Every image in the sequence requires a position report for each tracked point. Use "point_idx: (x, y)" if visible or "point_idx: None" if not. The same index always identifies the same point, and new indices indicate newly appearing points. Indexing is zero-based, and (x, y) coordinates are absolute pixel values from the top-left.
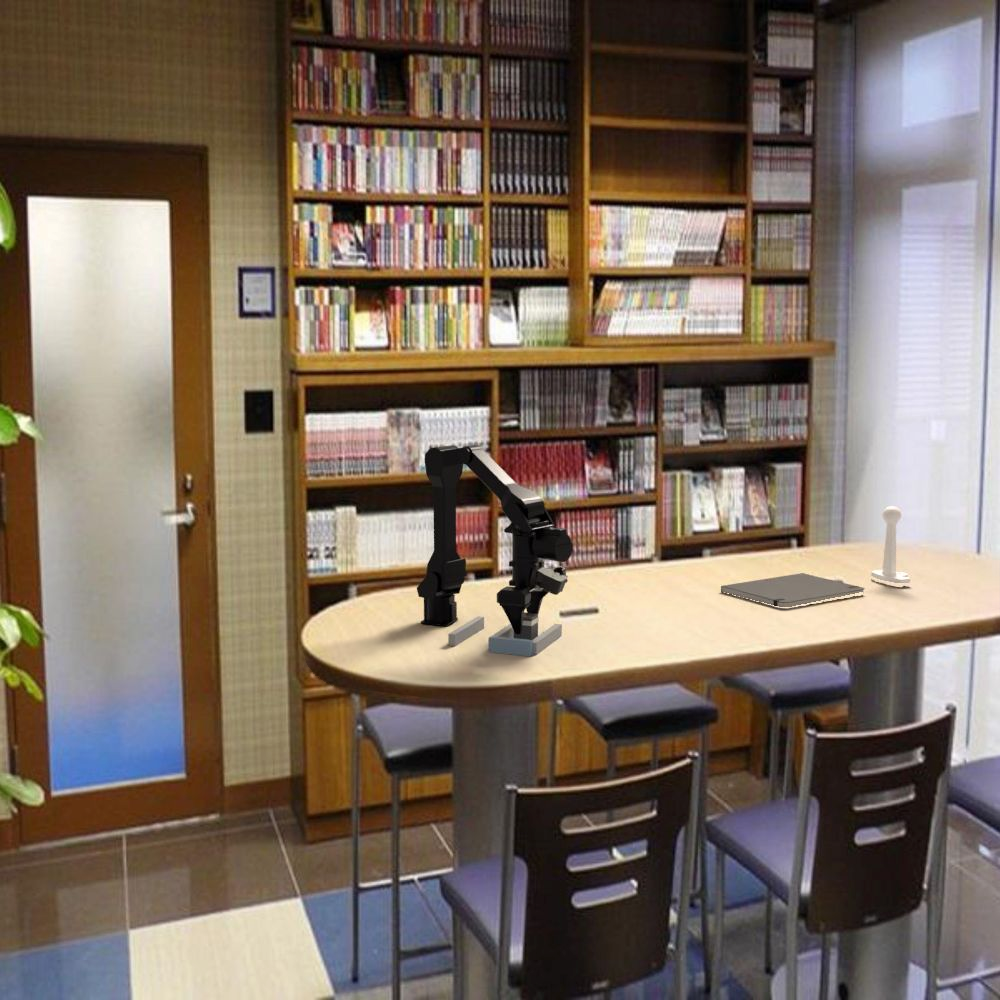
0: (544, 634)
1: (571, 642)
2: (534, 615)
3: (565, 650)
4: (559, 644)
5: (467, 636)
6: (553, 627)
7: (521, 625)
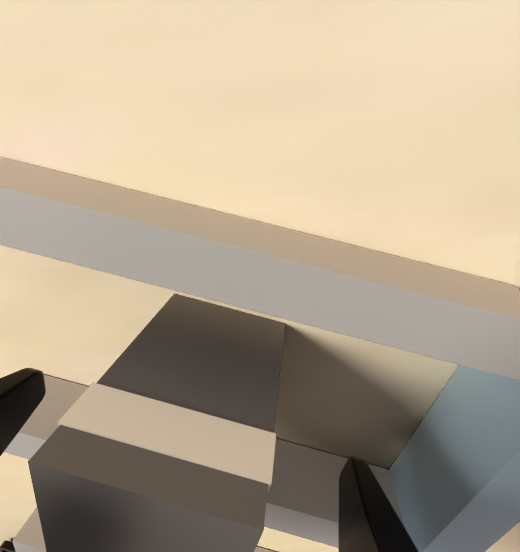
0: (275, 284)
1: (133, 43)
2: (127, 497)
3: (392, 63)
4: (214, 144)
5: None
6: (25, 225)
7: (397, 541)
